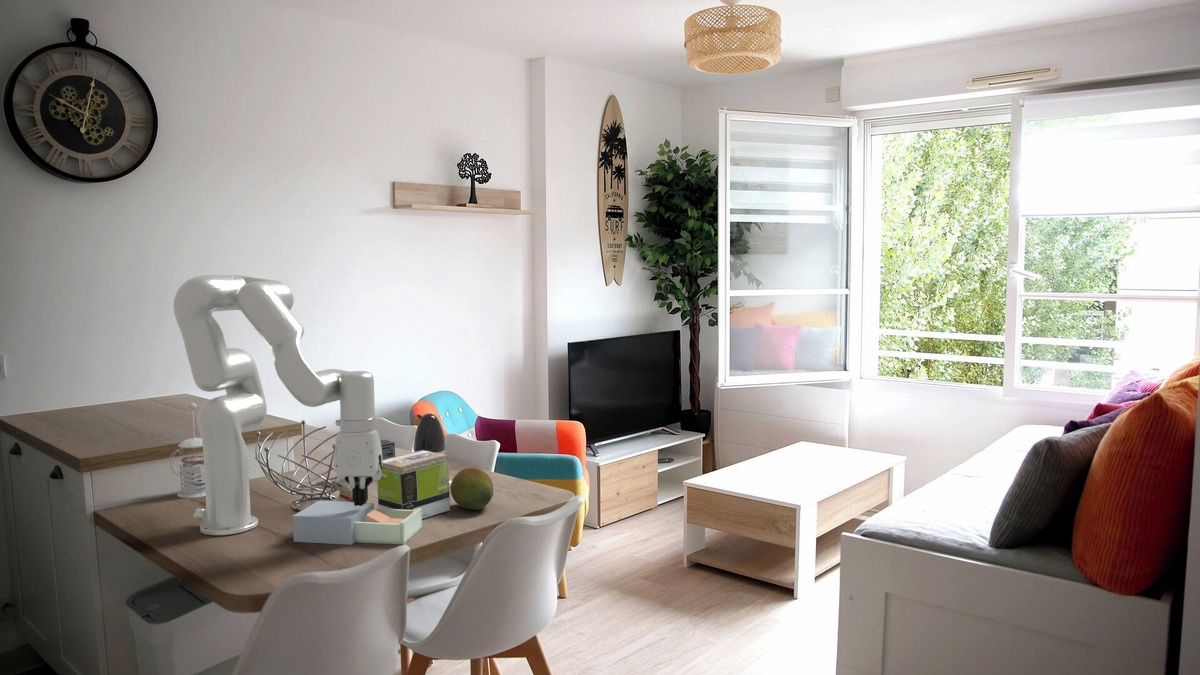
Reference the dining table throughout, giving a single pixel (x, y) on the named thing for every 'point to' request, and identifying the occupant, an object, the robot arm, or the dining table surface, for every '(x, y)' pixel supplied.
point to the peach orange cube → (394, 520)
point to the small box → (387, 449)
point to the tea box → (415, 483)
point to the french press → (191, 468)
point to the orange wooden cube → (376, 517)
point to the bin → (390, 527)
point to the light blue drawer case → (329, 522)
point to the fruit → (472, 488)
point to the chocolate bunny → (344, 491)
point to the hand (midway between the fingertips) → (360, 504)
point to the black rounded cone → (429, 435)
